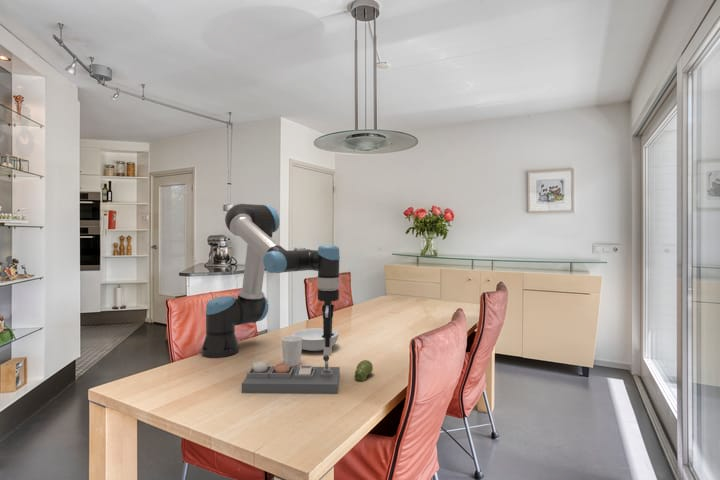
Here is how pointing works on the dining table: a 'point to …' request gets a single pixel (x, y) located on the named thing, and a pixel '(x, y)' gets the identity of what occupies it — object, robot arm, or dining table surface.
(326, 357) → the toggle lever
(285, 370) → the terracotta button
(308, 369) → the rocker switch
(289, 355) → the white cup
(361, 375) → the green rounded piece
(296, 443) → the dining table surface
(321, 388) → the switch panel
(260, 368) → the cream button
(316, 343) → the serving bowl
